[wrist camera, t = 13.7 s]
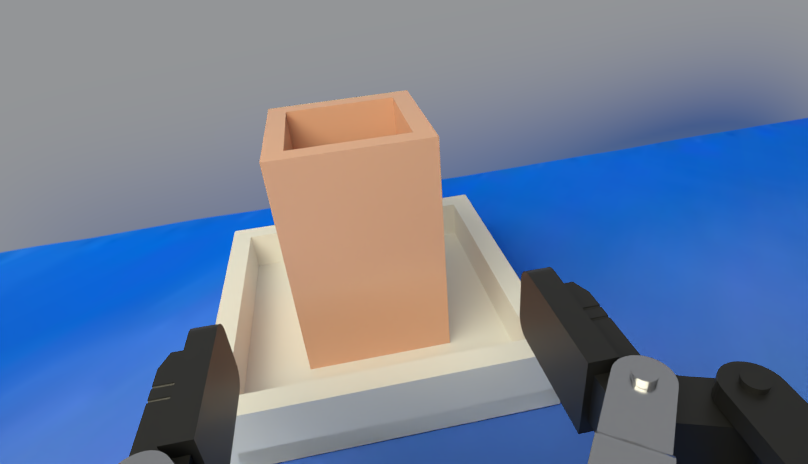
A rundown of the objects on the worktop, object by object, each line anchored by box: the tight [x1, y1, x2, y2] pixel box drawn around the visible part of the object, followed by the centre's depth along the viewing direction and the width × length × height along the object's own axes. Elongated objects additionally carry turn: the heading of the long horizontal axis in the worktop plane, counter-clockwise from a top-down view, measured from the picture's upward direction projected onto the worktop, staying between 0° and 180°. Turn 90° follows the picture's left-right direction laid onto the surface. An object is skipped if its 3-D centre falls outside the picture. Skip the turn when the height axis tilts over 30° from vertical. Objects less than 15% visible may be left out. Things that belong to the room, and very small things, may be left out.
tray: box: [216, 195, 560, 464], centre depth 26 cm, size 14×14×3 cm
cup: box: [260, 90, 450, 369], centre depth 24 cm, size 6×6×10 cm
